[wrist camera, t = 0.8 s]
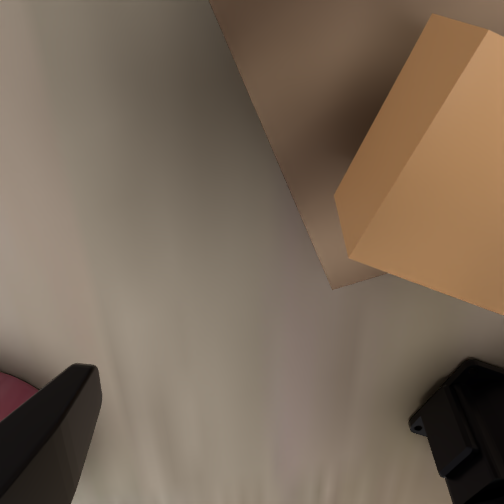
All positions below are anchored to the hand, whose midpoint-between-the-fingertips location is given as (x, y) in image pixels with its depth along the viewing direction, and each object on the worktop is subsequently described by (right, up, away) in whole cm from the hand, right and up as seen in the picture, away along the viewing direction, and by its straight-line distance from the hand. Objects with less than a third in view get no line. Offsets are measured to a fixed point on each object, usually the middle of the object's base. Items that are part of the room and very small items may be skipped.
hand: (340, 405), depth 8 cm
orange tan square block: (+5, +6, +6) cm, 10 cm away
